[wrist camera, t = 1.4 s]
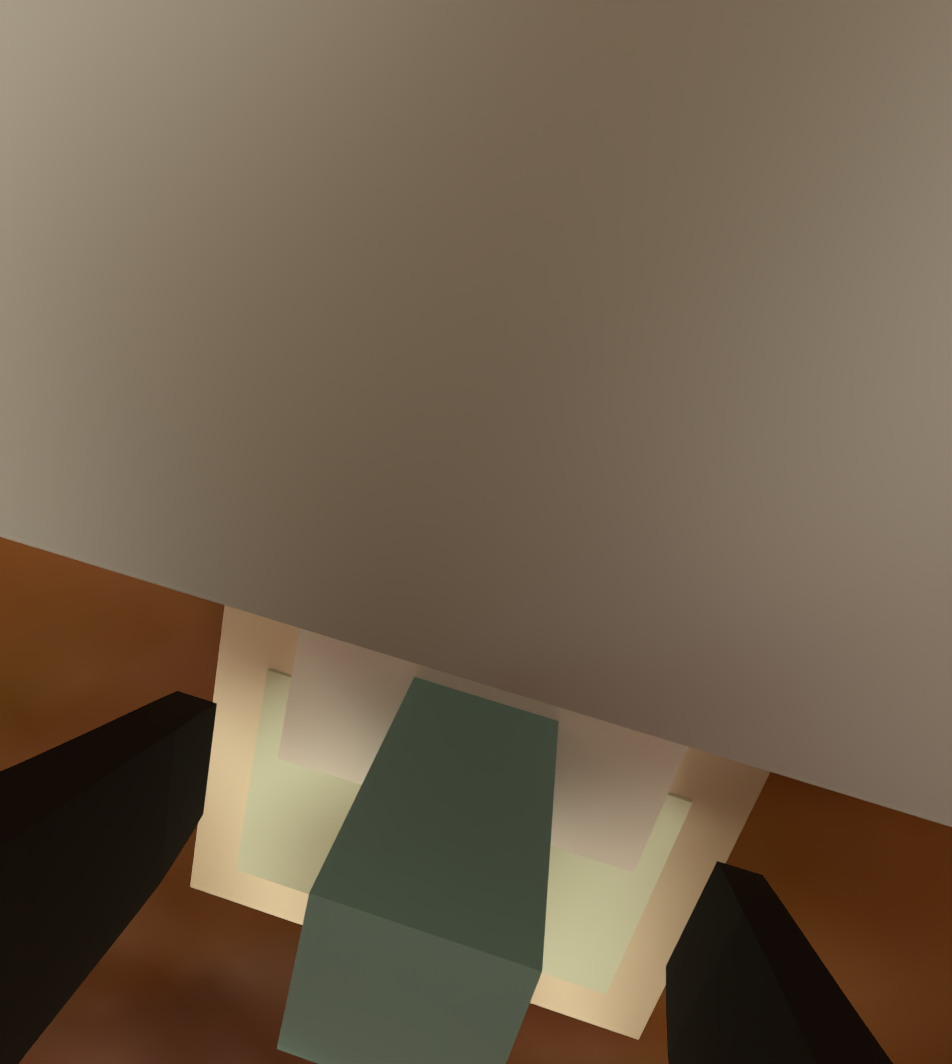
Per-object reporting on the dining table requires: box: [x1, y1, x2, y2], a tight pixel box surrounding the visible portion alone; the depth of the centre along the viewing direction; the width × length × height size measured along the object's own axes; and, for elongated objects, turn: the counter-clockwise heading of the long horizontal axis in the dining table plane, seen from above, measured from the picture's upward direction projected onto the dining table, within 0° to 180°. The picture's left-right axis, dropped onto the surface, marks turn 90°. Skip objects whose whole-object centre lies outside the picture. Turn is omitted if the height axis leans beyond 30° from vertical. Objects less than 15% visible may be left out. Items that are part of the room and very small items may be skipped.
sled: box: [277, 628, 688, 1064], centre depth 7 cm, size 6×14×5 cm, turn 166°
